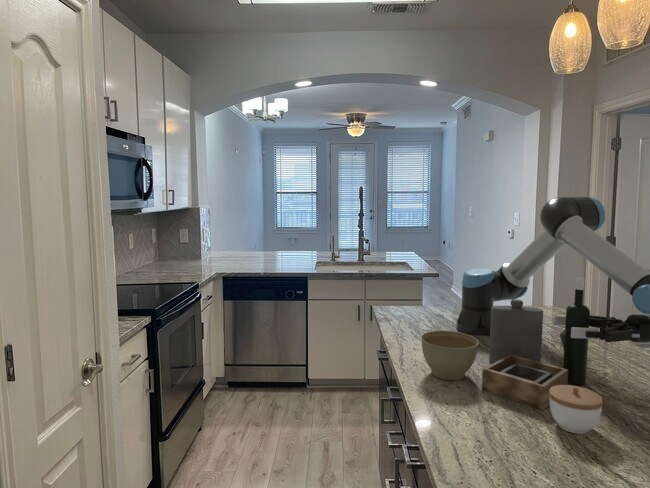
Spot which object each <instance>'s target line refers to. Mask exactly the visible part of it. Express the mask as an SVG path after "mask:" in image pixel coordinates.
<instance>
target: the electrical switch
mask: <svg viewBox="0 0 650 488" xmlns="http://www.w3.org/2000/svg"><path fill="white" fill-rule="evenodd" d="M559 337H560V340H561V344H562V345H561V346H562V348H563V350H564V342H565V329H564V330H562V332H561V333H559Z"/></svg>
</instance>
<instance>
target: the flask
mask: <svg viewBox="0 0 650 488" xmlns="http://www.w3.org/2000/svg"><path fill="white" fill-rule="evenodd" d="M543 321H544V310H542V309H541V308H537V307H531V306H524V301H523V300H522V299H519V298H517V299H513V300H510V305H493V307H492V308H491V328H490V336H489V355H488V357H489V358H488V360H489V362H490V363H491V364H493V363H495V362H496V361H498V360H500V359H502V358H504V357H506V356H508V355H514V356H518V357H522V358H525V359H529V360H533V361H537V362H541V363H542V361H541V359H542V343H543V341H542V340H543V327H544V326H543V323H544V322H543Z"/></svg>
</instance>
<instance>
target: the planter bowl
mask: <svg viewBox="0 0 650 488" xmlns="http://www.w3.org/2000/svg"><path fill="white" fill-rule="evenodd" d="M420 338H421V348H422V349H421V350H422V354H423V357H424V359H425V363H426V364H427V365H428V367H429V368H430V371H431V374H432V376H434V377H436V378H438V379H441V380H446V381H447V380H448V381H459V380H462V379H464V378H465V377H466V373H467V372H468V371H469V370H470V369H471V368H472V367H473V364H474V362H475V361H476V358H477V354H478V347H479V340H478V339H477V338H476V337H474V336H472V335H471V334H468V333H465V332H461V331H459V332H458V331H452V330H432V331H428V332H424V333H422V335H421V337H420Z"/></svg>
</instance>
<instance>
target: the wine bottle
mask: <svg viewBox="0 0 650 488" xmlns="http://www.w3.org/2000/svg"><path fill="white" fill-rule="evenodd" d="M585 279H586V278H585V276H575V283H574V284H575V285H574V303H571V304H568V306H567V307H566V312H565V316H566V324H565V325H564V326H565V327H564V328H565V329H564V330H565V342H564V349H563V359H562V360H563V362H562V368H564V369H568V383H567V385H572V386H578V387H582V386H585V385H586V382H587V381H586V380H587V365H588V350H589V339H585V338H571V327H576V328H590V326H589V321H590V315H591V311H590V308H589V307H588V306H587V305H584V304H583V302H584V290H585Z"/></svg>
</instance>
